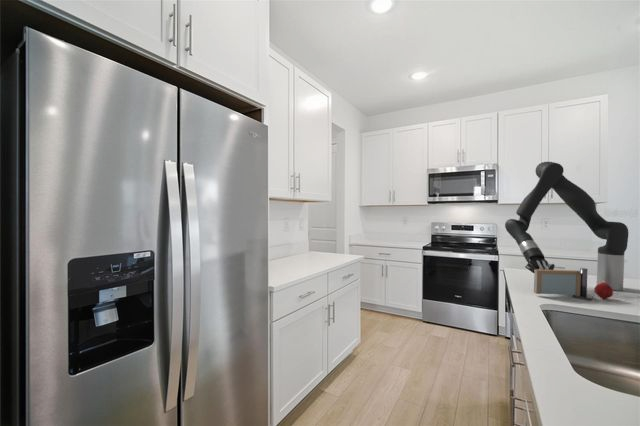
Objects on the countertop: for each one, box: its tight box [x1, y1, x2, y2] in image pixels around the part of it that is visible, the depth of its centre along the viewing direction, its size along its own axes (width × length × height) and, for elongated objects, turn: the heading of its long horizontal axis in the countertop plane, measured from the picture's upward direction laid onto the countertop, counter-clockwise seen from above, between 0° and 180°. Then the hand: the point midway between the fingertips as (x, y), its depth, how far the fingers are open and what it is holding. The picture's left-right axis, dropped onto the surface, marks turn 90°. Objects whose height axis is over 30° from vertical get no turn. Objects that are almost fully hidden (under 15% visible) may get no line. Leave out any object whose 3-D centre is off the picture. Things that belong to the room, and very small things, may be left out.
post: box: [572, 267, 594, 302], centre depth 125 cm, size 6×6×13 cm
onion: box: [593, 281, 614, 300], centre depth 123 cm, size 6×6×8 cm
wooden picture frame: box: [533, 269, 581, 296], centre depth 126 cm, size 18×2×11 cm, turn 85°
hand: (549, 282), depth 128 cm, fingers closed
